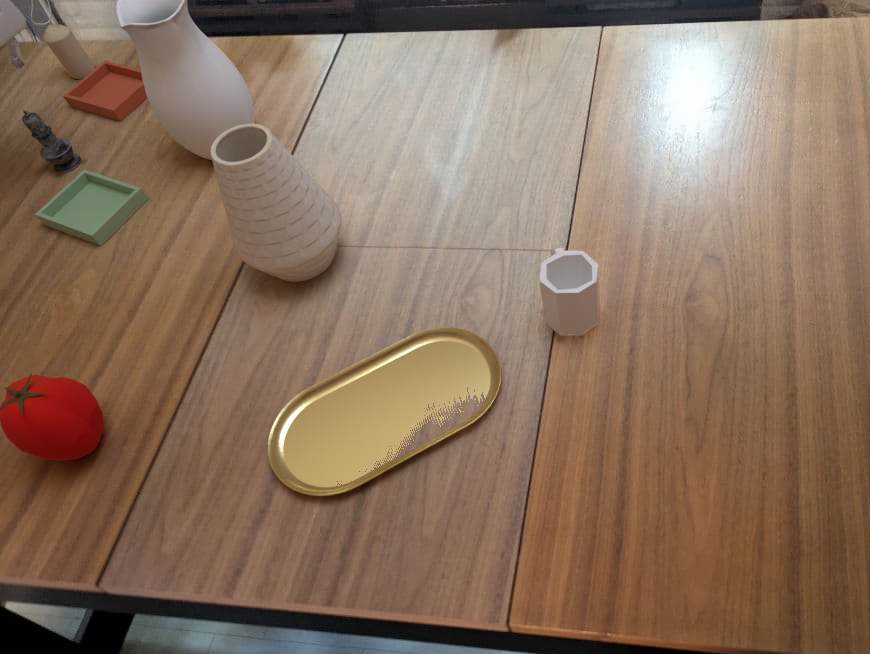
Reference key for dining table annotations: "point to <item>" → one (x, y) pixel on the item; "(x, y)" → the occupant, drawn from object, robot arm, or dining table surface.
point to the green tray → (92, 207)
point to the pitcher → (185, 74)
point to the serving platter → (379, 409)
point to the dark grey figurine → (51, 144)
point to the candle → (68, 51)
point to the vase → (274, 205)
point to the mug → (570, 292)
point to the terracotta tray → (108, 91)
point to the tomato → (51, 417)
